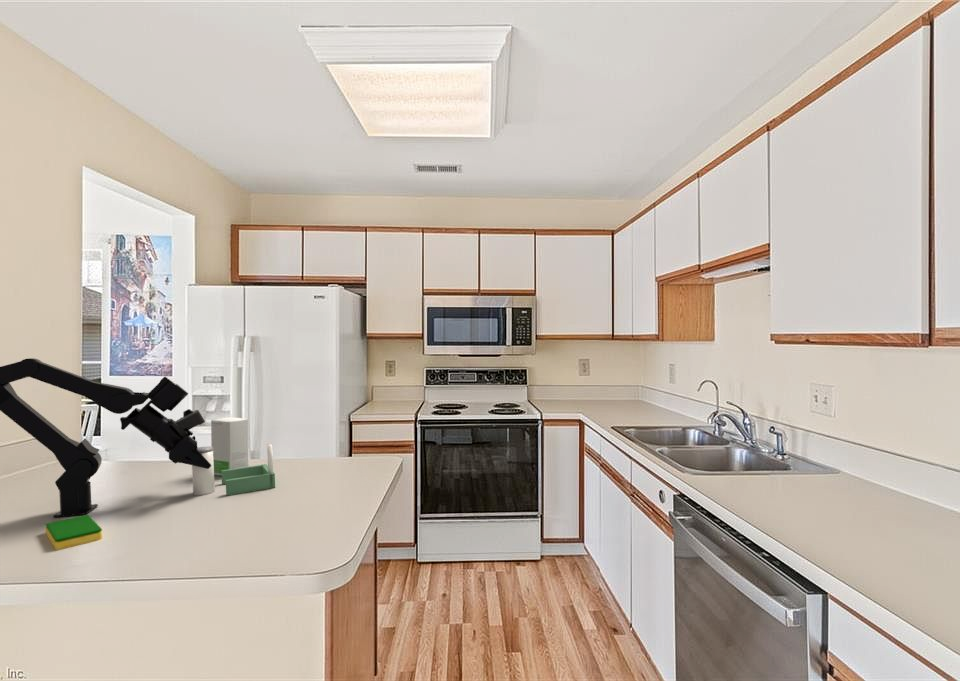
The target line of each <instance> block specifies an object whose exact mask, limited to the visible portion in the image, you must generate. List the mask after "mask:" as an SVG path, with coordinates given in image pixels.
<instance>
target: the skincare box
mask: <svg viewBox="0 0 960 681" xmlns="http://www.w3.org/2000/svg"><path fill="white" fill-rule="evenodd" d="M210 425H211V427H210V428H211V429H210V432H211V433H210V438H211V442H210V443H211V446H210V447H213V461H214V476H221V470H228V469H235V468H242V467H249V418H243V417H242V418H241V417H233V416H228V417H221V418H216V419H211V420H210Z"/></svg>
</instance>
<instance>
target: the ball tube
mask: <svg viewBox="0 0 960 681" xmlns="http://www.w3.org/2000/svg"><path fill="white" fill-rule="evenodd" d="M197 447H198V448H197V450H198V451H199V452H200V453H201V454H202V455H203V456H204V457H205V459H206V460H207V461H208V462H209V463H210V464H211V467H210V468H209V469H206V468H202V467H198V466H193V465H191V471H192V473H191V474H192V476H191V477H192V494H193V495H194V496H205V495H210V494H213V493H214V492H216V491H215V488H216V487H215V486H216V485H215V475H214V461H213V447H211V446H210V445H209V446H197Z"/></svg>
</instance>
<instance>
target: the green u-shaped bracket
mask: <svg viewBox="0 0 960 681" xmlns="http://www.w3.org/2000/svg"><path fill="white" fill-rule="evenodd" d="M266 445H267V447H266V448H267V449H266V450H267V451H266V452H267V453H266V454H267V464H266V463H265V464H257V465H251V466H249V465H248V467H242V468H235V469H228V470H221V485H225V493H226V496H231V495H237V494H243V493H249V492H254V491H261V490H268V489H275V488H276V475H275V474H276V473H275V472H274V460H273V459H274V458H273V457H274V456H273V444H269V443H267V444H266Z"/></svg>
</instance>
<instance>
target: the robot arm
mask: <svg viewBox="0 0 960 681" xmlns="http://www.w3.org/2000/svg"><path fill="white" fill-rule="evenodd" d="M26 378H31V379H35V380H37V381H40V382H43V383H46V384H49V385H51V386H54V387H56V388H59V389H61V390H62V389H63V390H65V391H68V392H71V393H73V394H76V395H79V396H82V397H85V398H87V399H88V400H91V401H92V402H93V403H95V404H96V405H98V406H100V407H102V408H103V409H106V410H107V411H109V412H111V413H113V414H115V415H116V414H119V415H121V414H125V413H128V412H129V411H130V410H132V408H133V407H135V406H139V405H143V404H144V403H145V402H147V403H145V405H144V406H143V407H142V408H141V409H140V408H138V407H135V408H134V409H133V410H132V411H131V412H130V413H129V414H127V416H122V417H120V419H119V421H120V424H121V426H120V429H121V430H122V431H123V430H124V431H125V429H126V428H128V426H130V425H132V427H134V428H136V429H137V430H138V431H139V432H141V433H143V435H145V436H147V437H148V438H149V440H150V441H151V442H153V443H156V444H157V445H159V446H160V447H161V448H163V449H164V451H165V452H167V453H168V460H170V461H171V462H173V463H174V464H178V463H179V464H185V465H191V466H192V465H193V466H198V467H202V468H206V469H209V468H210V467H211V464H210V463H209V462H208V461H207V460H206V459H205V457H204V456H203V455H202V454H201V453H200V452H199V451H198V450H197V448H198V447H199V446H198V441H197V440H196V436H195V435H194V432H192V431H191V429H193V428H196V427H197V426H200V425H203V424H204V423H206V421H205V418H204V417H203V415H202V413H201V412H200V410H199V409H195V410H194V411H193V410H192V409H190V408H188V409H186V410H183V413H182V414H183V415H182V417H180V418H178V419H177V420H174V419H172V418H167V417H166V416H165V415H164V414H163V413H165V412H166V411H167V410H169V412H172V411H173V410H174V409H175V408H176V407H177V406H178V405H179V404H180V403H181V402H182V401H183V400H184V399H185V398H186V397H187V396H188V395H189V392H187V391H186V390H185V389H184V388H183V387H181V386H180V385H179V384H178V383H175V382H173V381H172V379H169V378H168V377H167V376H164V377H162V378H161V379H160V381H159V382H158V384H156V385H155V386H154V387H153V388H152V389H151V390H150V391H149V392H145V391H143V392H138V391H137V392H136V391H133V390H132V389H130V388H128V387H124V386H120V385H115V384H110V383H103V382H98V381H94V380H92V379H89V378H86V377H84V376H82V375H81V376H80V375H79V374H75V373H72V372H70V371H69V370H68V371H67V370H65V369H62V368H59V367H56V366H53V365H50V364H49V363H46V362H43V361H41V360H40V359H38V358H35V357H33V358H31V357H30V358H25V359H24V358H23V359H22V360H20V361H16V362H13V363H10V364H9V363H8V364H6V365H1V366H0V412H2V413H3V414H4V415H5V416H6V417H8V418H9V419H10V420H12V421H13V423H15V424H16V425H18V426H19V427H20V428H22V430H24V431H25V432H27V433H28V434H29V435H30V436H32V437H33V438H34V439H35V440H37V441H38V442H39V444H42V445H43V446H44V447H45V448H46V449H48V450H49V451H50V452H52V454H53V455H54V457H55V458H56V459H57V461H58V463H59V464H60V466H61V467H62V468H63V469H64V470H65V471H63V473H62V474H61V475H60V476H59V477H58V478H57V479H56V480H55V481H54V482H55V483H54V484H55V485H56V488H57V489H58V491H59V492H58V493H59V508H60V509H59V511H58V512H56V513H54V514H53V516H52V517H53V518H62V517H63V518H64V517H70V516H83V515H88V513H90V512H92V511H93V510H95V509H96V508H97V507H99V504H98V503H95V504H92V486H91V481H90V479H91V478H92V477H93V476H94V475H96V473H97V472H98V470H99V469H100V467H101V465H102V456H101V454H100V453H99V451H100V448H96V447H94V446H93V445H92V444H91V443H90V442H89V441H88V439H87V438H84V439H82V441H80V442H79V441H77V440H74V439H71V437H69V436H68V435H67V434H65V433H64V432H62V431H61V430H60V429H59V428H58V427H57V426H55V425H54V424H53V423H52V422H50V421H49V420H48V419H47V418H46V417H45V416H44V415H42V414H41V413H40V412H38V411H37V410H36V409H34V408H33V407H32V406H31V405H30V404H28V403H27V402H26V401H25V400H24V399H23V398H21V397H20V396H19V395H18V394H17V392H16V390H15V389H14V387H13V386H12V385H11V383H13V382H17V381H21V380H23V379H26ZM148 399H149V401H147V400H148ZM151 404H152V405H153V406H154V407H155V408H154V407H153V406H151ZM156 408H157V409H159V410H160V411H161V412H163V413H161V412H160V411H159V410H157V409H156Z"/></svg>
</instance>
